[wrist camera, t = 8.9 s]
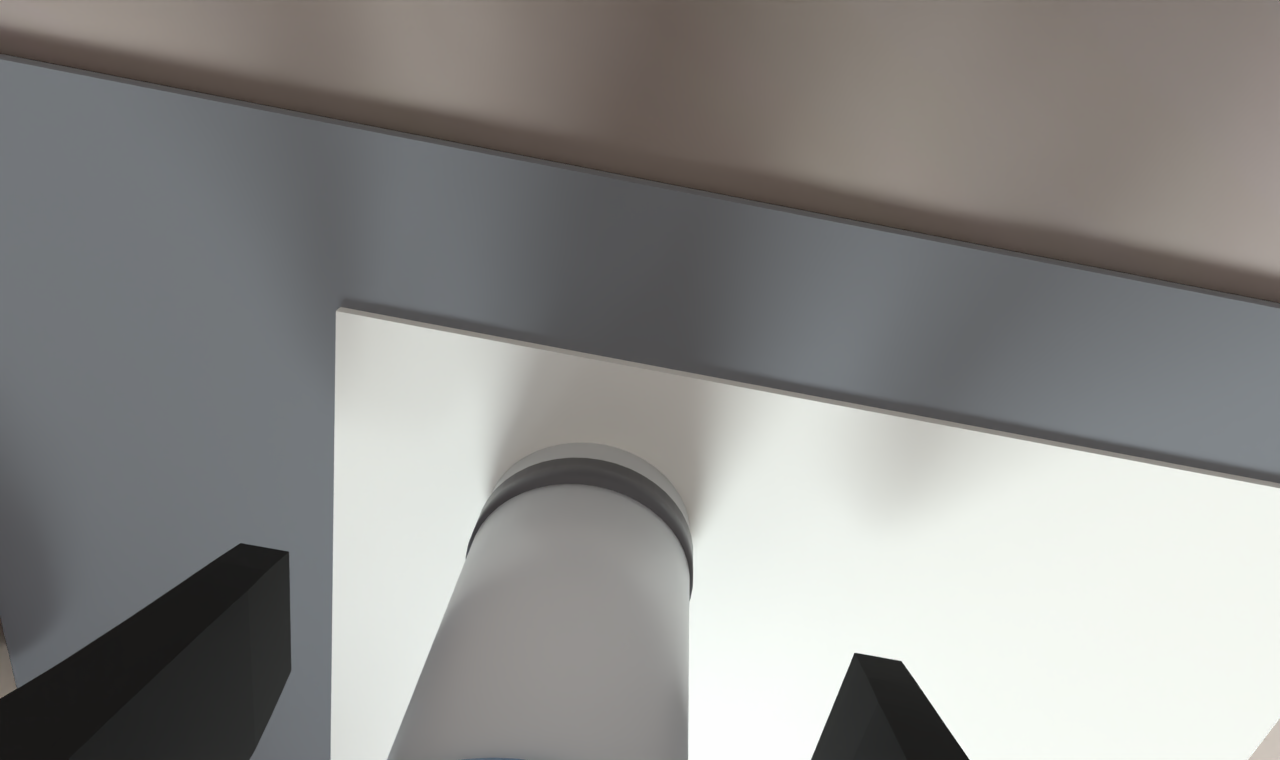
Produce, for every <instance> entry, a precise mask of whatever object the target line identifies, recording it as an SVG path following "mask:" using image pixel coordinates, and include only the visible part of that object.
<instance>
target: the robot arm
mask: <svg viewBox="0 0 1280 760" xmlns="http://www.w3.org/2000/svg"><path fill="white" fill-rule="evenodd" d="M290 673H291V621H290V568H289V552H288V551H283V550H277V549H272V548H266V547H260V546H255V545H249V544H243V543H240V544H238V545H237V546H235V547H234V548H232V549H230V550H229V551H227V552H226V553H224V554H223V555H221V556H220V557H218V558H217V559H215V560H214V561H212V562H211V563H209V564H208V565H206V566H205V567H203V568H202V569H200V570H199V571H197V572H196V573H194V574H193V575H191V576H190V577H189V578H187V579H186V580H184V581H183V582H181V583H180V584H178V585H177V586H175V587H174V588H172V589H171V590H169V591H168V592H167V593H165V594H164V595H162V596H161V597H159V598H158V599H156V600H155V601H153V602H152V603H150V604H149V605H147V606H146V607H144V608H143V609H141V610H140V611H138V612H137V613H135V614H134V615H132V616H131V617H129V618H128V619H126V620H125V621H123V622H122V623H120V624H119V625H117V626H116V627H114V628H113V629H111V630H109V631H108V632H106V633H105V634H103V635H102V636H100V637H99V638H97V639H96V640H94V641H93V642H91V643H90V644H88V645H86V646H85V647H83V648H82V649H80V650H79V651H77V652H76V653H74V654H73V655H71V656H70V657H68V658H66V659H65V660H63V661H62V662H60V663H59V664H57V665H55V666H54V667H52V668H51V669H49V670H47V671H46V672H44V673H42V674H41V675H39V676H37V677H36V678H34V679H32V680H31V681H29V682H27V683H26V684H24V685H22V686H21V687H19V688H17V689H16V690H14V691H12V692H11V693H9V694H7V695H6V696H4V697H2V698H1V699H0V760H250V758H251V756H252V755H253V753H254V751H255V749H256V747H257V745H258V743H259V741H260V739H261V737H262V735H263V732H264V730H265V728H266V726H267V724H268V722H269V720H270V718H271V715H272V713H273V711H274V709H275V707H276V704H277V702H278V700H279V698H280V695H281V693H282V691H283V689H284V686H285V684H286V682H287V679H288V677H289V675H290ZM811 760H970V759H969V758H968V757H967V755H966V754H965V752H964V751H963V749H962V748H961V746H960V745H959V744H958V742H957V741H956V739H955V738H954V736H953V735H952V734H951V732H950V731H949V729H948V728H947V726H946V725H945V723H944V722H943V720H942V719H941V717H940V716H939V715H938V713H937V712H936V710H935V709H934V707H933V706H932V704H931V703H930V701H929V700H928V698H927V697H926V695H925V694H924V693H923V691H922V690H921V688H920V687H919V685H918V684H917V682H916V681H915V679H914V678H913V677H912V675H911V674H910V672H909V671H908V669H907V668H906V667H905V665H904V664H903V662H902V661H899V660H893V659H888V658H882V657H877V656H871V655H865V654H860V653H854V655H853V658H852V660H851V663H850V665H849V667H848V670H847V672H846V675H845V677H844V680H843V682H842V685H841V687H840V690H839V692H838V695H837V697H836V699H835V702H834V704H833V707H832V709H831V712H830V714H829V717H828V719H827V722H826V724H825V726H824V729H823V731H822V734H821V736H820V739H819V741H818V744H817V746H816V749H815V751H814V753H813V756H812V758H811Z"/></svg>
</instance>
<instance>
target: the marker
mask: <svg viewBox="0 0 1280 760" xmlns="http://www.w3.org/2000/svg"><path fill="white" fill-rule="evenodd" d="M692 589H693V543H692V537H691V533H690V525H689V518H688V514H687V511H686V508H685V505H684V503H683V501H682V499H681V497H680V495H679V493H678V492H677V490H676V489H675V487H674V486H673V484H672V483H671V482H670V481H669V480H668V479H667V478H666V477H665V475H663V474H662V473H661V472H660V471H659V470H658V469H656V468H655V467H654V466H653V465H651V464H650V463H648V462H647V461H645V460H644V459H642V458H640V457H638V456H636V455H634V454H632V453H630V452H627V451H624V450H622V449H619V448H615V447H611V446H607V445H603V444H595V443H567V444H560V445H555V446H550V447H547V448H544V449H541V450H538V451H536V452H534V453H532V454H530V455H528V456H526V457H524V458H523V459H521V460H520V461H518V462H517V463H515V464H514V465H513V466H512V467H511V468H510V469H509V470H508V471H507V472H505V474H504V475H503V476H502V477H501V479H500V480H499V481H498V483H497V485H496V486H495V488H494V490H493V492H492V494H491V495H490V497H489V498H488V499H487V501H486V503H485V505H484V506H483V508H482V510H481V513H480V515H479V518H478V520H477V523H476V525H475V528H474V530H473V533H472V535H471V538H470V541H469V543H468V547H467V552H466V560H465V563H464V565H463V568H462V570H461V573H460V575H459V578H458V580H457V583H456V586H455V588H454V591H453V593H452V596H451V598H450V601H449V603H448V606H447V608H446V611H445V613H444V616H443V619H442V621H441V624H440V626H439V629H438V631H437V634H436V636H435V639H434V641H433V644H432V646H431V649H430V651H429V654H428V657H427V659H426V662H425V664H424V667H423V669H422V672H421V674H420V677H419V679H418V682H417V684H416V687H415V690H414V692H413V695H412V697H411V700H410V702H409V705H408V707H407V710H406V712H405V715H404V717H403V720H402V722H401V725H400V728H399V730H398V733H397V735H396V738H395V740H394V743H393V745H392V748H391V750H390V753H389V755H388V758H387V760H688V723H689V601H690V599H691V594H692Z"/></svg>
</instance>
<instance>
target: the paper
mask: <svg viewBox="0 0 1280 760" xmlns="http://www.w3.org/2000/svg"><path fill="white" fill-rule="evenodd" d="M567 443H595V444H603V445H607V446H611V447H615V448H619V449H622V450H624V451H627V452H630V453H632V454H634V455H636V456H638V457H640V458H642V459H644V460H645V461H647V462H648V463H650V464H651V465H653V466H654V467H655V468H656V469H658V470H659V471H660V472H661V473H662V474H663V475H665V477H666V478H667V479H668V480H669V481H670V482H671V483H672V484H673V486H674V487H675V489H676V490H677V492H678V493H679V495H680V497H681V499H682V501H683V503H684V505H685V508H686V511H687V514H688V518H689V525H690V533H691V537H692V543H693V589H692V594H691V599H690V601H689V723H688V760H811V758H812V756H813V753H814V751H815V749H816V746H817V744H818V741H819V739H820V736H821V734H822V731H823V729H824V726H825V724H826V722H827V719H828V717H829V714H830V712H831V709H832V707H833V704H834V702H835V699H836V697H837V695H838V692H839V690H840V687H841V685H842V682H843V680H844V677H845V675H846V672H847V670H848V667H849V665H850V663H851V660H852V658H853V655H854V653H860V654H865V655H871V656H877V657H882V658H888V659H893V660H899V661H902V662H903V664H904V665H905V667H906V668H907V669H908V671H909V672H910V674H911V675H912V677H913V678H914V679H915V681H916V682H917V684H918V685H919V687H920V688H921V690H922V691H923V693H924V694H925V695H926V697H927V698H928V700H929V701H930V703H931V704H932V706H933V707H934V709H935V710H936V712H937V713H938V715H939V716H940V717H941V719H942V720H943V722H944V723H945V725H946V726H947V728H948V729H949V731H950V732H951V734H952V735H953V736H954V738H955V739H956V741H957V742H958V744H959V745H960V746H961V748H962V749H963V751H964V752H965V754H966V755H967V757H968V758H969V759H970V760H1248V759H1249V758H1250V756H1251V755H1252V754H1253V753H1254V751H1255V750H1256V749H1257V747H1258V746H1259V745H1260V743H1261V742H1262V741H1263V739H1264V738H1265V737H1266V736H1267V734H1268V733H1269V732H1270V730H1271V729H1272V728H1273V726H1274V725H1275V724H1276V722H1277V721H1278V720H1279V719H1280V483H1274V482H1269V481H1264V480H1258V479H1253V478H1248V477H1242V476H1237V475H1232V474H1226V473H1221V472H1216V471H1210V470H1205V469H1200V468H1194V467H1189V466H1184V465H1178V464H1173V463H1168V462H1163V461H1157V460H1152V459H1147V458H1141V457H1136V456H1131V455H1125V454H1120V453H1115V452H1109V451H1104V450H1099V449H1093V448H1088V447H1083V446H1077V445H1072V444H1067V443H1061V442H1056V441H1051V440H1046V439H1040V438H1035V437H1030V436H1024V435H1019V434H1014V433H1008V432H1003V431H998V430H992V429H987V428H982V427H976V426H971V425H966V424H960V423H955V422H950V421H945V420H939V419H934V418H929V417H923V416H918V415H913V414H907V413H902V412H897V411H891V410H886V409H881V408H875V407H870V406H865V405H859V404H854V403H849V402H843V401H838V400H833V399H828V398H822V397H817V396H812V395H806V394H801V393H796V392H790V391H785V390H780V389H774V388H769V387H764V386H758V385H753V384H748V383H742V382H737V381H732V380H726V379H721V378H716V377H711V376H705V375H700V374H695V373H689V372H684V371H679V370H673V369H668V368H663V367H657V366H652V365H647V364H641V363H636V362H631V361H625V360H620V359H615V358H610V357H604V356H599V355H594V354H588V353H583V352H578V351H572V350H567V349H562V348H556V347H551V346H546V345H540V344H535V343H530V342H524V341H519V340H514V339H508V338H503V337H498V336H493V335H487V334H482V333H477V332H471V331H466V330H461V329H455V328H450V327H445V326H439V325H434V324H429V323H423V322H418V321H413V320H407V319H402V318H397V317H391V316H386V315H381V314H376V313H370V312H365V311H360V310H354V309H349V308H344V307H340V308H339V309H338V310H336V341H335V425H334V508H333V591H332V675H331V758H330V760H387V758H388V755H389V753H390V750H391V748H392V745H393V743H394V740H395V738H396V735H397V733H398V730H399V728H400V725H401V722H402V720H403V717H404V715H405V712H406V710H407V707H408V705H409V702H410V700H411V697H412V695H413V692H414V690H415V687H416V684H417V682H418V679H419V677H420V674H421V672H422V669H423V667H424V664H425V662H426V659H427V657H428V654H429V651H430V649H431V646H432V644H433V641H434V639H435V636H436V634H437V631H438V629H439V626H440V624H441V621H442V619H443V616H444V613H445V611H446V608H447V606H448V603H449V601H450V598H451V596H452V593H453V591H454V588H455V586H456V583H457V580H458V578H459V575H460V573H461V570H462V568H463V565H464V563H465V560H466V552H467V547H468V543H469V541H470V538H471V535H472V533H473V530H474V528H475V525H476V523H477V520H478V518H479V515H480V513H481V510H482V508H483V506H484V505H485V503H486V501H487V499H488V498H489V497H490V495H491V494H492V492H493V490H494V488H495V486H496V485H497V483H498V481H499V480H500V479H501V477H502V476H503V475H504V474H505V472H507V471H508V470H509V469H510V468H511V467H512V466H513V465H514V464H515V463H517V462H518V461H520V460H521V459H523V458H524V457H526V456H528V455H530V454H532V453H534V452H536V451H538V450H541V449H544V448H547V447H550V446H555V445H560V444H567Z"/></svg>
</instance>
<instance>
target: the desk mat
mask: <svg viewBox="0 0 1280 760" xmlns="http://www.w3.org/2000/svg"><path fill="white" fill-rule="evenodd" d="M340 307H344V308H349V309H354V310H360V311H365V312H370V313H376V314H381V315H386V316H391V317H397V318H402V319H407V320H413V321H418V322H423V323H429V324H434V325H439V326H445V327H450V328H455V329H461V330H466V331H471V332H477V333H482V334H487V335H493V336H498V337H503V338H508V339H514V340H519V341H524V342H530V343H535V344H540V345H546V346H551V347H556V348H562V349H567V350H572V351H578V352H583V353H588V354H594V355H599V356H604V357H610V358H615V359H620V360H625V361H631V362H636V363H641V364H647V365H652V366H657V367H663V368H668V369H673V370H679V371H684V372H689V373H695V374H700V375H705V376H711V377H716V378H721V379H726V380H732V381H737V382H742V383H748V384H753V385H758V386H764V387H769V388H774V389H780V390H785V391H790V392H796V393H801V394H806V395H812V396H817V397H822V398H828V399H833V400H838V401H843V402H849V403H854V404H859V405H865V406H870V407H875V408H881V409H886V410H891V411H897V412H902V413H907V414H913V415H918V416H923V417H929V418H934V419H939V420H945V421H950V422H955V423H960V424H966V425H971V426H976V427H982V428H987V429H992V430H998V431H1003V432H1008V433H1014V434H1019V435H1024V436H1030V437H1035V438H1040V439H1046V440H1051V441H1056V442H1061V443H1067V444H1072V445H1077V446H1083V447H1088V448H1093V449H1099V450H1104V451H1109V452H1115V453H1120V454H1125V455H1131V456H1136V457H1141V458H1147V459H1152V460H1157V461H1163V462H1168V463H1173V464H1178V465H1184V466H1189V467H1194V468H1200V469H1205V470H1210V471H1216V472H1221V473H1226V474H1232V475H1237V476H1242V477H1248V478H1253V479H1258V480H1264V481H1269V482H1274V483H1280V303H1275V302H1270V301H1265V300H1260V299H1255V298H1250V297H1245V296H1240V295H1234V294H1229V293H1224V292H1219V291H1214V290H1209V289H1204V288H1199V287H1193V286H1188V285H1183V284H1178V283H1173V282H1168V281H1163V280H1158V279H1152V278H1147V277H1142V276H1137V275H1132V274H1127V273H1122V272H1117V271H1111V270H1106V269H1101V268H1096V267H1091V266H1086V265H1081V264H1076V263H1070V262H1065V261H1060V260H1055V259H1050V258H1045V257H1040V256H1035V255H1029V254H1024V253H1019V252H1014V251H1009V250H1004V249H999V248H994V247H988V246H983V245H978V244H973V243H968V242H963V241H958V240H953V239H947V238H942V237H937V236H932V235H927V234H922V233H917V232H912V231H906V230H901V229H896V228H891V227H886V226H881V225H876V224H871V223H865V222H860V221H855V220H850V219H845V218H840V217H835V216H830V215H824V214H819V213H814V212H809V211H804V210H799V209H794V208H789V207H783V206H778V205H773V204H768V203H763V202H758V201H753V200H748V199H742V198H737V197H732V196H727V195H722V194H717V193H712V192H707V191H701V190H696V189H691V188H686V187H681V186H676V185H671V184H666V183H660V182H655V181H650V180H645V179H640V178H635V177H630V176H625V175H619V174H614V173H609V172H604V171H599V170H594V169H589V168H584V167H578V166H573V165H568V164H563V163H558V162H553V161H548V160H543V159H537V158H532V157H527V156H522V155H517V154H512V153H507V152H502V151H496V150H491V149H486V148H481V147H476V146H471V145H466V144H461V143H455V142H450V141H445V140H440V139H435V138H430V137H425V136H420V135H414V134H409V133H404V132H399V131H394V130H389V129H384V128H379V127H373V126H368V125H363V124H358V123H353V122H348V121H343V120H338V119H332V118H327V117H322V116H317V115H312V114H307V113H302V112H297V111H291V110H286V109H281V108H276V107H271V106H266V105H261V104H256V103H250V102H245V101H240V100H235V99H230V98H225V97H220V96H215V95H209V94H204V93H199V92H194V91H189V90H184V89H179V88H174V87H168V86H163V85H158V84H153V83H148V82H143V81H138V80H133V79H127V78H122V77H117V76H112V75H107V74H102V73H97V72H92V71H86V70H81V69H76V68H71V67H66V66H61V65H56V64H51V63H45V62H40V61H35V60H30V59H25V58H20V57H15V56H10V55H4V54H0V618H1V622H2V627H3V631H4V635H5V640H6V644H7V648H8V652H9V657H10V661H11V665H12V670H13V674H14V678H15V683H16V687H17V688H19V687H21V686H22V685H24V684H26V683H27V682H29V681H31V680H32V679H34V678H36V677H37V676H39V675H41V674H42V673H44V672H46V671H47V670H49V669H51V668H52V667H54V666H55V665H57V664H59V663H60V662H62V661H63V660H65V659H66V658H68V657H70V656H71V655H73V654H74V653H76V652H77V651H79V650H80V649H82V648H83V647H85V646H86V645H88V644H90V643H91V642H93V641H94V640H96V639H97V638H99V637H100V636H102V635H103V634H105V633H106V632H108V631H109V630H111V629H113V628H114V627H116V626H117V625H119V624H120V623H122V622H123V621H125V620H126V619H128V618H129V617H131V616H132V615H134V614H135V613H137V612H138V611H140V610H141V609H143V608H144V607H146V606H147V605H149V604H150V603H152V602H153V601H155V600H156V599H158V598H159V597H161V596H162V595H164V594H165V593H167V592H168V591H169V590H171V589H172V588H174V587H175V586H177V585H178V584H180V583H181V582H183V581H184V580H186V579H187V578H189V577H190V576H191V575H193V574H194V573H196V572H197V571H199V570H200V569H202V568H203V567H205V566H206V565H208V564H209V563H211V562H212V561H214V560H215V559H217V558H218V557H220V556H221V555H223V554H224V553H226V552H227V551H229V550H230V549H232V548H234V547H235V546H237V545H238V544H240V543H243V544H249V545H255V546H260V547H266V548H272V549H277V550H283V551H288V552H289V568H290V621H291V673H290V675H289V677H288V679H287V682H286V684H285V686H284V689H283V691H282V693H281V695H280V698H279V700H278V702H277V704H276V707H275V709H274V711H273V713H272V715H271V718H270V720H269V722H268V724H267V726H266V728H265V730H264V732H263V735H262V737H261V739H260V741H259V743H258V745H257V747H256V749H255V751H254V753H253V755H252V756H251V758H250V760H330V758H331V675H332V591H333V508H334V425H335V341H336V310H338V309H339V308H340Z"/></svg>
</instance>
